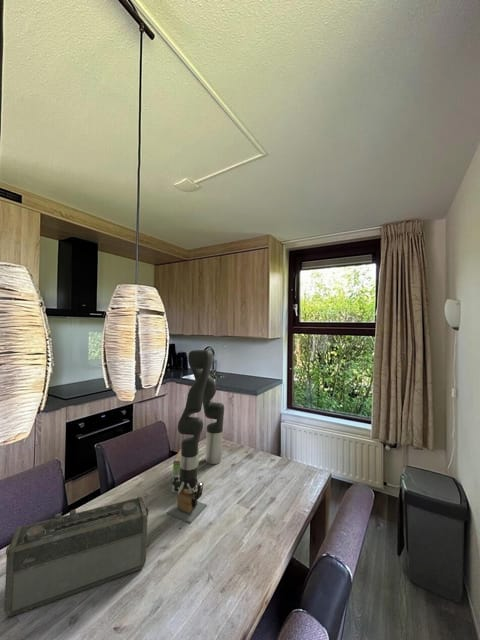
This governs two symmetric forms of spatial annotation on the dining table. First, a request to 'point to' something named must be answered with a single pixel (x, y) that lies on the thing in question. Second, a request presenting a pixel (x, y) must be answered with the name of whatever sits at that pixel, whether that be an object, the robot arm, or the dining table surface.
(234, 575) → the dining table surface
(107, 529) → the radio
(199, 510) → the coaster
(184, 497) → the walnut cube
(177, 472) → the tea box
